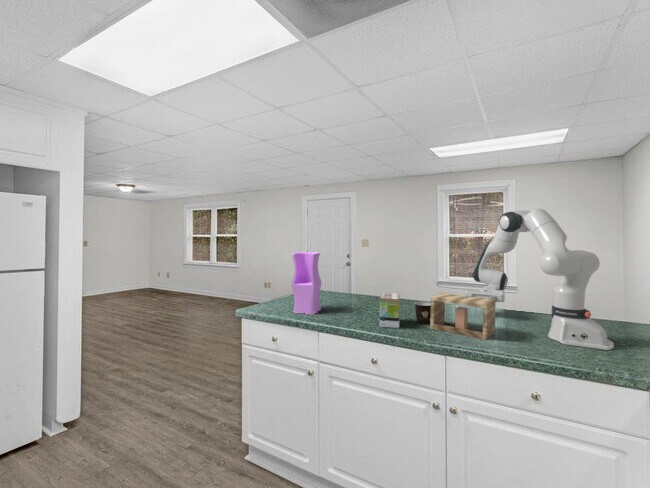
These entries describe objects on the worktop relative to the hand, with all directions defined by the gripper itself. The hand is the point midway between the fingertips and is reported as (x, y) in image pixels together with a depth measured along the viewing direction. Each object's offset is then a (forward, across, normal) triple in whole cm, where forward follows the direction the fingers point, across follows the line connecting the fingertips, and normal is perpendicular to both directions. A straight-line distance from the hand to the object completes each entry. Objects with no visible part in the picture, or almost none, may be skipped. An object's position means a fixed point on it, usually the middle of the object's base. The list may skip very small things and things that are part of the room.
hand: (480, 297), depth 178 cm
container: (+47, -84, +11) cm, 97 cm away
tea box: (+38, -33, +12) cm, 52 cm away
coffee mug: (+25, -19, +12) cm, 34 cm away
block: (+27, -1, +12) cm, 30 cm away
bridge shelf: (+26, -1, +12) cm, 29 cm away
